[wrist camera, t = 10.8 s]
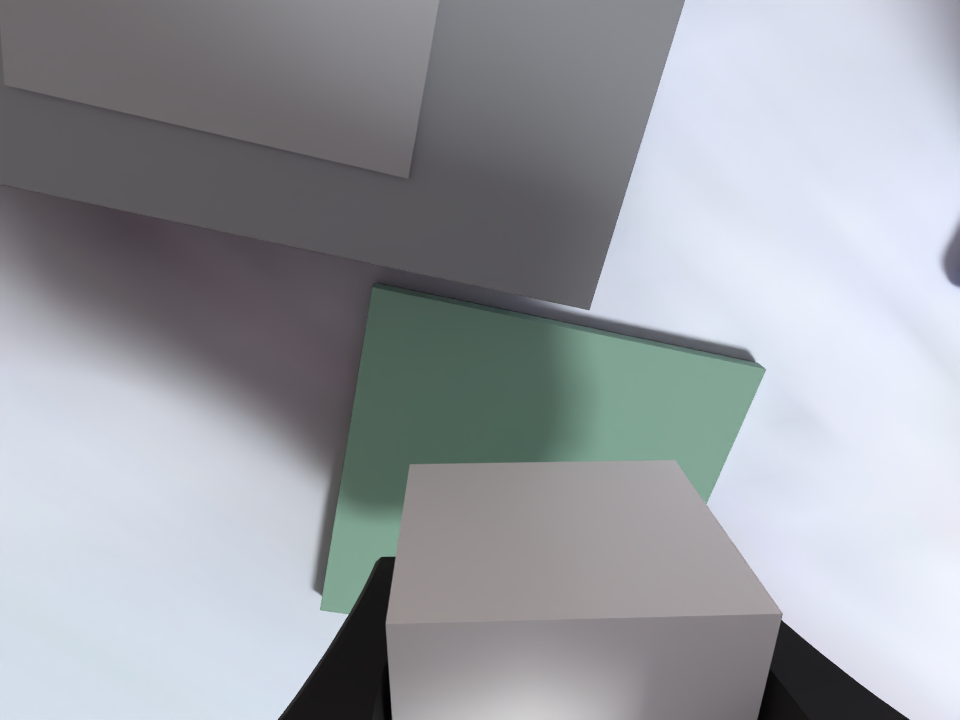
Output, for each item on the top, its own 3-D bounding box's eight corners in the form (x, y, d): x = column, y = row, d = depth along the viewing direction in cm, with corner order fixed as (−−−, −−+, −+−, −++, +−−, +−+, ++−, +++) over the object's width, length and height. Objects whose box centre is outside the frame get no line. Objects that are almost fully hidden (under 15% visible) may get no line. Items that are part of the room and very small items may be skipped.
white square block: (674, 459, 11) (782, 613, 7) (646, 659, 12) (722, 862, 9) (409, 464, 11) (385, 624, 7) (419, 666, 12) (403, 875, 9)
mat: (757, 362, 13) (765, 369, 13) (635, 643, 16) (638, 655, 16) (374, 282, 12) (372, 286, 12) (323, 598, 15) (320, 610, 15)
